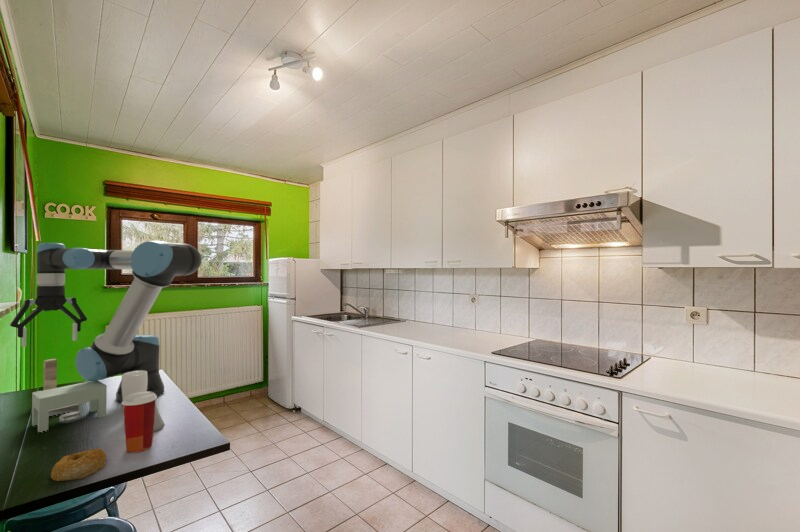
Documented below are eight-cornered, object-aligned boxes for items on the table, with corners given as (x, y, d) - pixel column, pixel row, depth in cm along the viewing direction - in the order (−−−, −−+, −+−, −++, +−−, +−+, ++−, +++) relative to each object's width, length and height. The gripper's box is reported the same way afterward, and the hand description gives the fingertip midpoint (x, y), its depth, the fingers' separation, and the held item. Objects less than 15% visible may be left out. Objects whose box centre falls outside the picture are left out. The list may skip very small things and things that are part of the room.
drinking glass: (117, 425, 112) (117, 376, 113) (126, 417, 119) (127, 371, 119) (142, 423, 114) (142, 375, 115) (150, 415, 121) (151, 369, 121)
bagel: (107, 456, 94) (107, 437, 94) (105, 474, 85) (105, 454, 85) (54, 469, 88) (54, 449, 88) (46, 490, 79) (47, 468, 79)
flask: (153, 434, 106) (153, 400, 106) (128, 434, 106) (129, 400, 107) (169, 424, 113) (169, 391, 114) (146, 424, 114) (146, 391, 114)
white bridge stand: (31, 424, 114) (32, 392, 114) (96, 409, 127) (96, 380, 127) (39, 432, 108) (39, 398, 108) (106, 415, 121) (106, 385, 121)
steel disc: (83, 416, 121) (83, 410, 121) (77, 422, 116) (77, 416, 116) (63, 419, 118) (63, 413, 119) (56, 425, 114) (56, 418, 114)
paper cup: (151, 438, 104) (151, 388, 104) (160, 446, 99) (161, 394, 99) (117, 449, 97) (117, 396, 98) (125, 458, 93) (126, 402, 93)
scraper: (33, 405, 131) (34, 361, 131) (63, 399, 137) (63, 357, 138) (46, 417, 119) (47, 369, 120) (78, 410, 126) (78, 364, 126)
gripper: (91, 284, 146) (90, 337, 146) (-1, 286, 126) (-2, 347, 126) (97, 284, 142) (96, 339, 141) (2, 286, 122) (1, 350, 121)
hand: (50, 343), depth 134 cm, fingers open, 13 cm apart
